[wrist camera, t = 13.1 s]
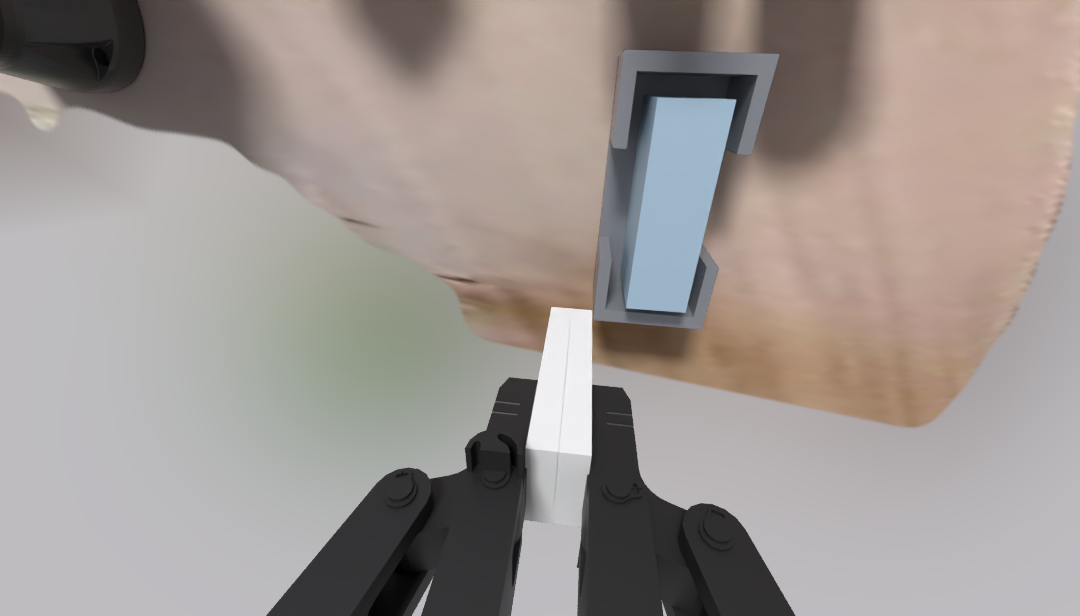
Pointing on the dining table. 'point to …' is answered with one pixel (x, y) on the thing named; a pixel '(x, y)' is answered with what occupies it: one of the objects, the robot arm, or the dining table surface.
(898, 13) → the dining table surface
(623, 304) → the endcap rail
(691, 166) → the light blue block
